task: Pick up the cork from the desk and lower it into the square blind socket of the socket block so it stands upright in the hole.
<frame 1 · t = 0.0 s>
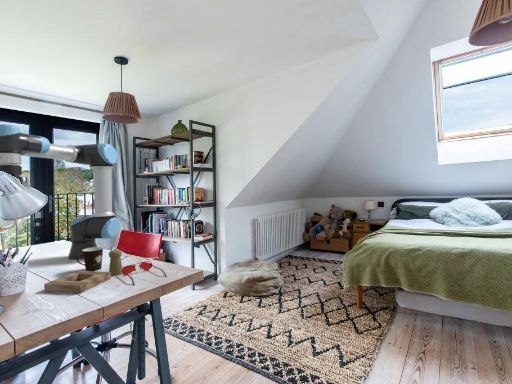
hand: (11, 219, 107), 28 cm above the table, fingers open, 13 cm apart
glasses: (143, 277, 119), on the table
cork: (116, 274, 123), on the table
socket block: (79, 284, 110), on the table
coffee mug: (90, 270, 130), on the table
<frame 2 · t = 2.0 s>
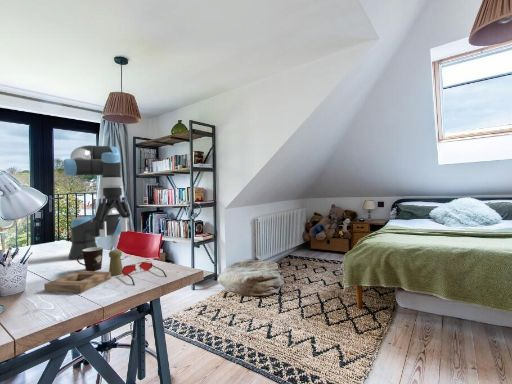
hand: (114, 234, 122), 18 cm above the table, fingers open, 13 cm apart
nothing on the table moved.
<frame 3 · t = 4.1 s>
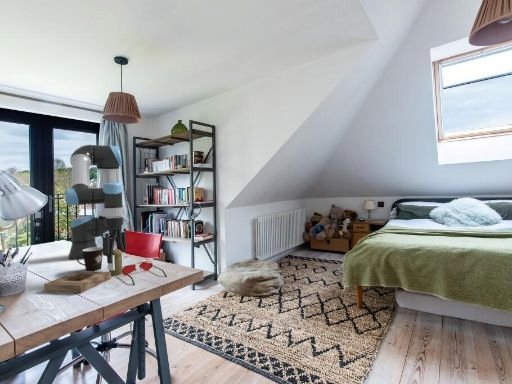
hand: (115, 267, 123), 3 cm above the table, fingers closed on cork, 5 cm apart
cork: (116, 274, 123), on the table, touching gripper
everything else where it was.
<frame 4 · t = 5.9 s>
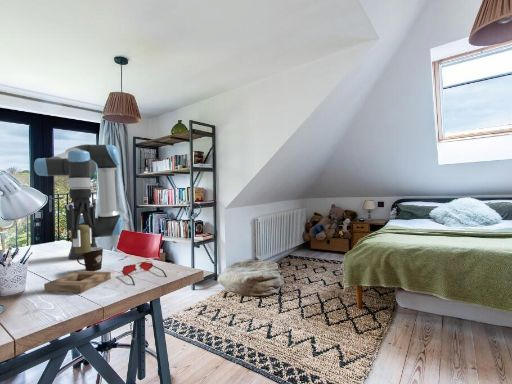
hand: (82, 244, 111), 16 cm above the table, fingers closed on cork, 5 cm apart
cork: (83, 252, 111), point 13 cm above the table, touching gripper
everything else where it was.
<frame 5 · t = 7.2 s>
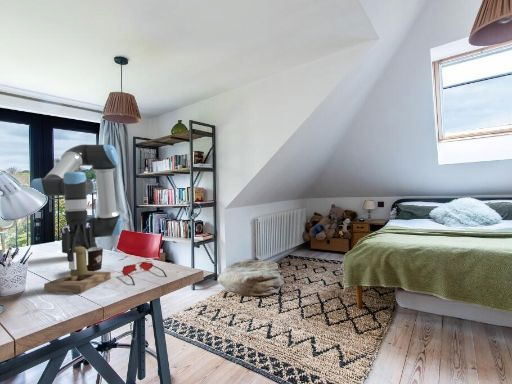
hand: (78, 266, 110), 7 cm above the table, fingers closed on cork, 5 cm apart
cork: (79, 274, 110), point 4 cm above the table, touching gripper
everything else where it was.
when the fingers open (5 cm above the table, at t = 7.9 s): cork drops 1 cm, resting on socket block.
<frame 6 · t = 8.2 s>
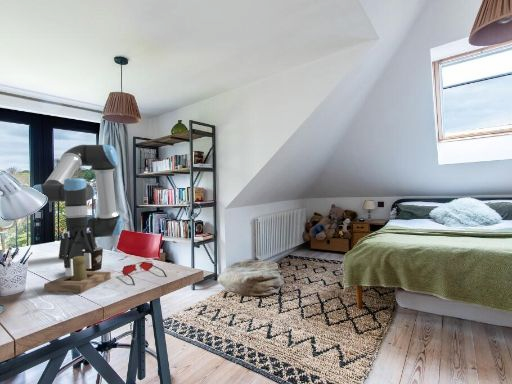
hand: (79, 271, 110), 5 cm above the table, fingers open, 8 cm apart
cork: (79, 283, 110), resting on socket block
everything else where it was.
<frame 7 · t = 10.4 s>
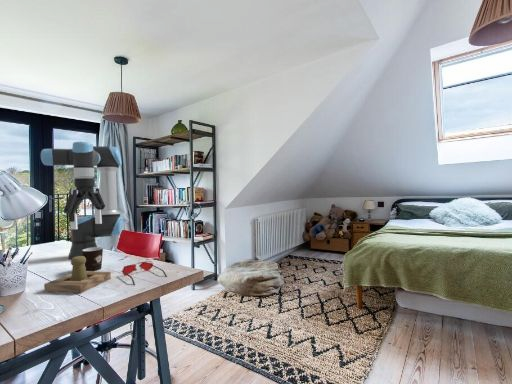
hand: (87, 226, 119), 23 cm above the table, fingers open, 13 cm apart
nothing on the table moved.
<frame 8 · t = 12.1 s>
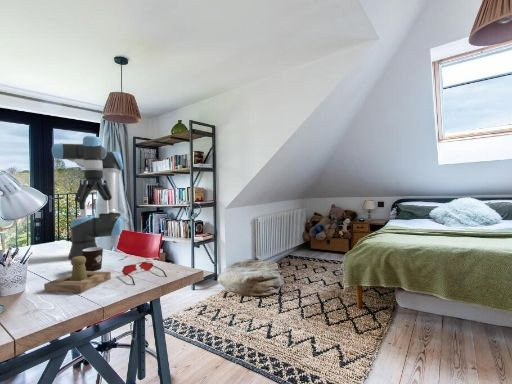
hand: (95, 215, 127), 27 cm above the table, fingers open, 13 cm apart
nothing on the table moved.
at the end: cork 0.0 cm from the socket block (horizontally); cork resting on socket block; cork tilted 0° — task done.
